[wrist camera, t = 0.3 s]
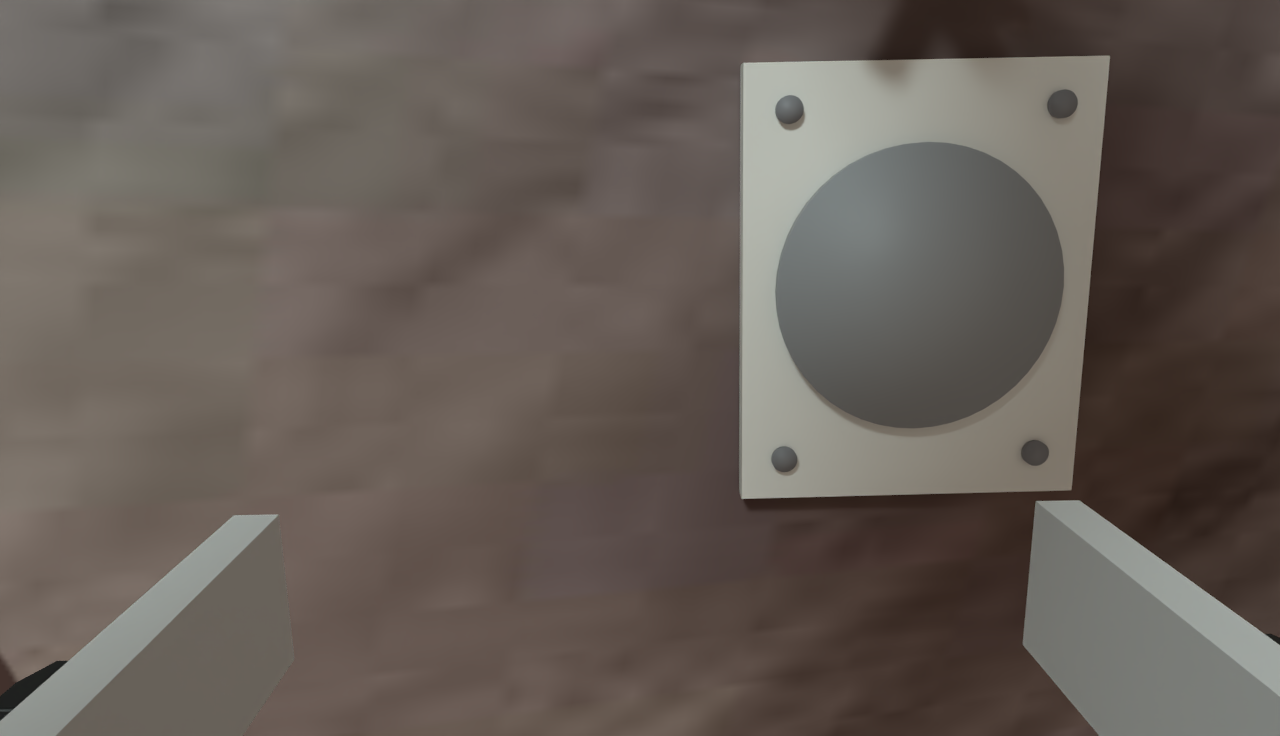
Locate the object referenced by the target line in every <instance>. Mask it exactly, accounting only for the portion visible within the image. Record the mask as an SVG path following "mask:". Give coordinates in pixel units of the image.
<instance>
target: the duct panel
mask: <svg viewBox="0 0 1280 736" xmlns="http://www.w3.org/2000/svg"><path fill="white" fill-rule="evenodd" d="M1109 63H1110V56H1063V57H1014V58H964V59H915V60H865V61H815V62H766V63H743V64H742V65H741V66H740V368H739V493H740V495H741V498H742V499H756V498H795V497H833V496H872V495H910V494H949V493H987V492H1026V491H1064V490H1072V480H1073V468H1074V457H1075V446H1076V435H1077V423H1078V412H1079V401H1080V390H1081V378H1082V367H1083V356H1084V345H1085V333H1086V322H1087V311H1088V299H1089V288H1090V277H1091V266H1092V254H1093V243H1094V232H1095V221H1096V209H1097V198H1098V187H1099V176H1100V164H1101V153H1102V142H1103V131H1104V119H1105V108H1106V97H1107V86H1108V74H1109Z"/></svg>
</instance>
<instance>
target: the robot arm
mask: <svg viewBox="0 0 1280 736" xmlns="http://www.w3.org/2000/svg"><path fill="white" fill-rule="evenodd" d="M1023 646H1024V647H1025V648H1026V649H1027V650H1028V652H1029V653H1030V654H1031V655H1032V656H1033V658H1034V659H1035V660H1036V661H1037V662H1038V663H1039V665H1040V666H1041V667H1042V668H1043V669H1044V671H1045V672H1046V673H1047V674H1048V675H1049V677H1050V678H1051V679H1052V680H1053V681H1054V682H1055V684H1056V685H1057V686H1058V687H1059V688H1060V690H1061V691H1062V692H1063V693H1064V694H1065V696H1066V697H1067V698H1068V699H1069V700H1070V701H1071V703H1072V704H1073V705H1074V706H1075V707H1076V709H1077V710H1078V711H1079V712H1080V713H1081V715H1082V716H1083V717H1084V718H1085V719H1086V720H1087V722H1088V723H1089V724H1090V725H1091V726H1092V728H1093V729H1094V730H1095V731H1096V732H1097V734H1098V735H1099V736H1280V638H1279V637H1277V636H1274V635H1272V634H1264V633H1262V632H1261V631H1259V630H1258V629H1257V628H1255V627H1254V626H1253V625H1251V624H1250V623H1248V622H1247V621H1246V620H1244V619H1243V618H1242V617H1240V616H1239V615H1237V614H1236V613H1235V612H1233V611H1232V610H1230V609H1229V608H1228V607H1226V606H1225V605H1224V604H1222V603H1221V602H1219V601H1218V600H1217V599H1215V598H1214V597H1212V596H1211V595H1210V594H1208V593H1207V592H1206V591H1204V590H1203V589H1201V588H1200V587H1199V586H1197V585H1196V584H1194V583H1193V582H1192V581H1190V580H1189V579H1188V578H1186V577H1185V576H1183V575H1182V574H1181V573H1179V572H1178V571H1176V570H1175V569H1174V568H1172V567H1171V566H1170V565H1168V564H1167V563H1165V562H1164V561H1163V560H1161V559H1160V558H1158V557H1157V556H1156V555H1154V554H1153V553H1152V552H1150V551H1149V550H1147V549H1146V548H1145V547H1143V546H1142V545H1140V544H1139V543H1138V542H1136V541H1135V540H1134V539H1132V538H1131V537H1129V536H1128V535H1127V534H1125V533H1124V532H1122V531H1121V530H1120V529H1118V528H1117V527H1116V526H1114V525H1113V524H1111V523H1110V522H1109V521H1107V520H1106V519H1104V518H1103V517H1102V516H1100V515H1099V514H1098V513H1096V512H1095V511H1093V510H1092V509H1091V508H1089V507H1088V506H1086V505H1085V504H1084V503H1082V502H1081V501H1080V500H1069V501H1036V503H1035V514H1034V525H1033V536H1032V547H1031V558H1030V569H1029V580H1028V591H1027V602H1026V613H1025V624H1024V635H1023ZM293 661H294V651H293V641H292V632H291V623H290V614H289V604H288V595H287V586H286V577H285V567H284V558H283V549H282V540H281V530H280V521H279V515H234V516H233V517H232V518H231V519H229V520H228V521H227V522H226V523H225V524H224V525H223V526H221V527H220V528H219V529H218V530H217V531H216V532H215V533H213V534H212V535H211V536H210V537H209V538H208V539H207V540H206V541H204V542H203V543H202V544H201V545H200V546H199V547H198V548H196V549H195V550H194V551H193V552H192V553H191V554H190V555H188V556H187V557H186V558H185V559H184V560H183V561H182V562H180V563H179V564H178V565H177V566H176V567H175V568H174V569H173V570H171V571H170V572H169V573H168V574H167V575H166V576H165V577H163V578H162V579H161V580H160V581H159V582H158V583H157V584H155V585H154V586H153V587H152V588H151V589H150V590H149V591H147V592H146V593H145V594H144V595H143V596H142V597H141V598H140V599H138V600H137V601H136V602H135V603H134V604H133V605H132V606H130V607H129V608H128V609H127V610H126V611H125V612H124V613H122V614H121V615H120V616H119V617H118V618H117V619H116V620H114V621H113V622H112V623H111V624H110V625H109V626H108V627H107V628H105V629H104V630H103V631H102V632H101V633H100V634H99V635H97V636H96V637H95V638H94V639H93V640H92V641H91V642H89V643H88V644H87V645H86V646H85V647H84V648H83V649H82V650H80V651H79V652H78V653H77V654H76V655H75V656H74V657H72V658H71V659H70V660H69V661H56V662H54V663H52V664H50V665H49V666H47V667H45V668H43V669H41V670H39V671H37V672H35V673H34V674H32V675H30V676H28V677H26V678H24V679H22V680H20V681H19V682H17V683H15V684H14V685H13V686H12V687H11V688H9V690H7V691H6V692H5V693H4V694H2V695H1V696H0V736H243V734H244V733H245V731H246V730H247V728H248V727H249V726H250V724H251V723H252V721H253V720H254V718H255V717H256V715H257V714H258V712H259V711H260V709H261V708H262V706H263V705H264V703H265V702H266V700H267V699H268V697H269V696H270V695H271V693H272V692H273V690H274V689H275V687H276V686H277V684H278V683H279V681H280V680H281V678H282V677H283V675H284V674H285V672H286V671H287V669H288V668H289V667H290V665H291V664H292V662H293Z"/></svg>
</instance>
